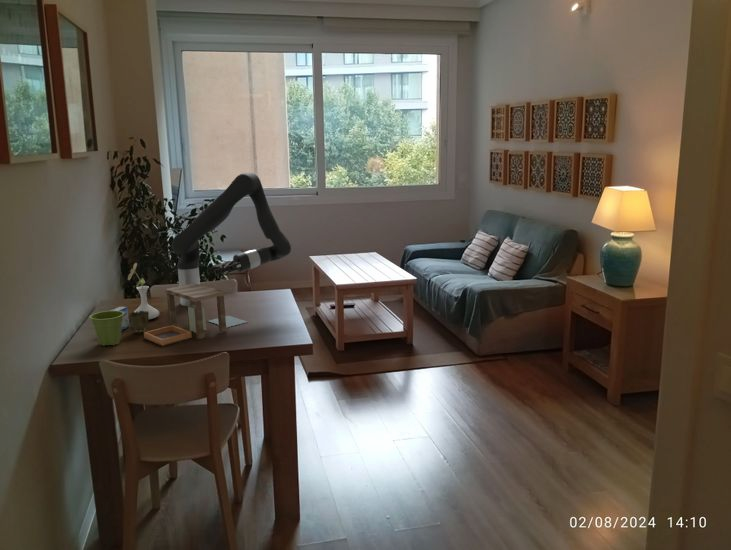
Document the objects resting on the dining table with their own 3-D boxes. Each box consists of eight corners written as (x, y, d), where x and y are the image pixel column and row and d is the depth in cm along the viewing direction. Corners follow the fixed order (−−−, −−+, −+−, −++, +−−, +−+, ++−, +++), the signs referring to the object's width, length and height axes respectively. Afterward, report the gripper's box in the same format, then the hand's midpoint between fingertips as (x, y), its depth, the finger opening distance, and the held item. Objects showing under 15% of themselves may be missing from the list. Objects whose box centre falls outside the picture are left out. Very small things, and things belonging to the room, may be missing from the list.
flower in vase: (141, 314, 263) (135, 258, 258) (165, 315, 261) (159, 259, 255) (123, 323, 251) (117, 264, 245) (148, 324, 248) (142, 265, 243)
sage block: (189, 330, 238) (187, 306, 236) (199, 327, 242) (197, 304, 239) (196, 332, 235) (193, 308, 233) (206, 330, 239) (203, 305, 236)
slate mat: (207, 321, 250) (207, 320, 249) (228, 316, 257) (228, 315, 257) (227, 328, 240) (227, 327, 240) (247, 322, 247) (247, 321, 247)
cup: (135, 329, 242) (133, 310, 240) (153, 329, 241) (151, 310, 240) (127, 335, 234) (125, 315, 233) (146, 335, 234) (143, 315, 232)
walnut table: (168, 328, 241) (164, 289, 238) (197, 321, 250) (193, 283, 247) (198, 340, 226) (194, 297, 223) (227, 331, 236) (224, 291, 232)
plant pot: (115, 349, 218) (112, 319, 216) (86, 348, 221) (82, 318, 218) (133, 338, 230) (130, 310, 227) (105, 337, 232) (101, 309, 229)
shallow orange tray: (144, 338, 230) (143, 332, 229) (172, 331, 238) (172, 325, 238) (162, 346, 220) (162, 340, 220) (191, 338, 229) (191, 332, 228)
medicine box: (118, 333, 237) (116, 312, 236) (108, 332, 238) (105, 311, 236) (130, 327, 245) (127, 306, 243) (120, 326, 246) (117, 306, 244)
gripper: (237, 251, 256) (202, 262, 247) (251, 252, 244) (215, 263, 235) (242, 268, 257) (207, 280, 248) (256, 269, 246) (220, 281, 237)
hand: (211, 272), depth 242 cm, fingers open, 8 cm apart
